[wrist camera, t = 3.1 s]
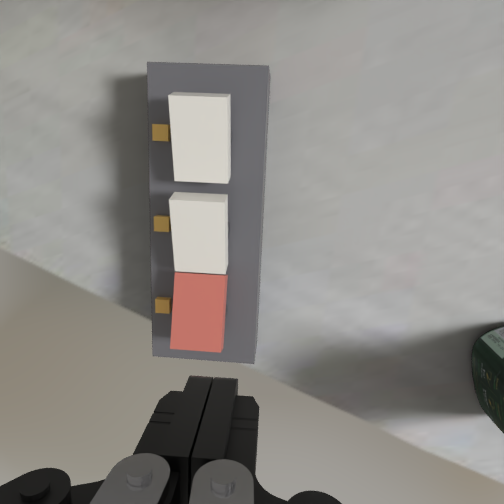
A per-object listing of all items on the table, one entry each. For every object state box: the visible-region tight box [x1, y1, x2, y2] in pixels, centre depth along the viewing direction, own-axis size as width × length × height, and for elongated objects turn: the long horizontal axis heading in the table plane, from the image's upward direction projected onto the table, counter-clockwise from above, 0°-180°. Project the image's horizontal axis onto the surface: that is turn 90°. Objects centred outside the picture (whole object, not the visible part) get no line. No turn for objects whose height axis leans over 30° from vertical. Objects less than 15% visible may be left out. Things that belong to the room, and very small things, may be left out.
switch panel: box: [147, 62, 270, 364], centre depth 34 cm, size 24×9×5 cm, turn 178°
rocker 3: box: [170, 272, 228, 353], centre depth 32 cm, size 6×4×2 cm, turn 177°
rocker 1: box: [168, 92, 231, 184], centre depth 29 cm, size 6×4×2 cm, turn 178°
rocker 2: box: [169, 192, 228, 274], centre depth 31 cm, size 6×4×2 cm, turn 178°
